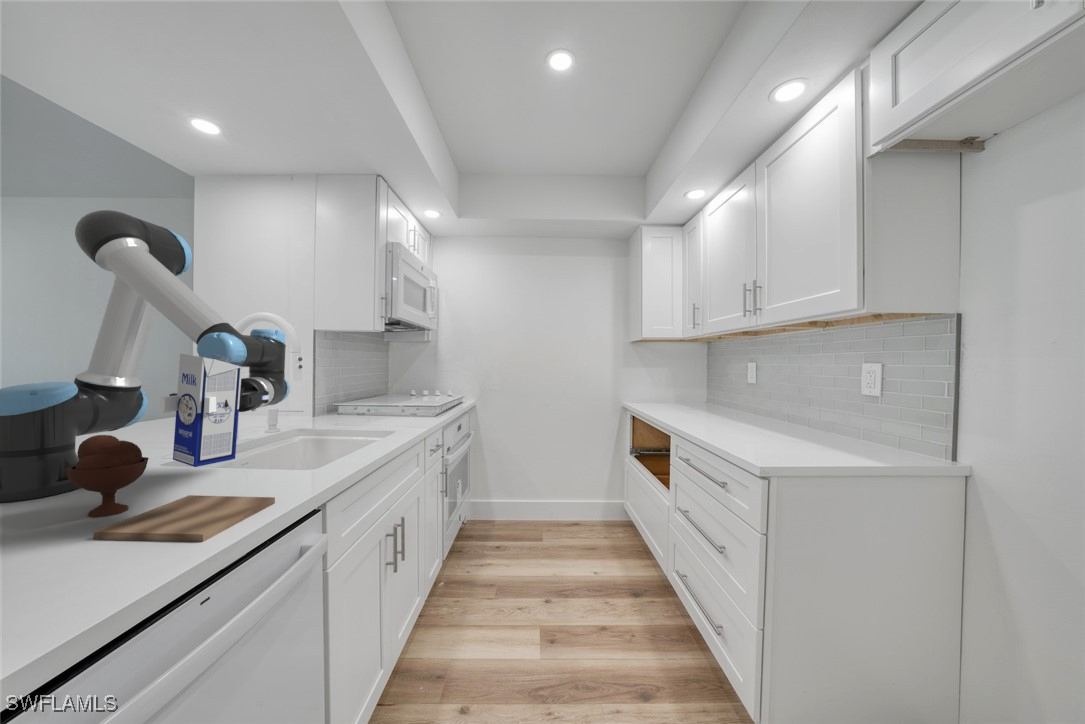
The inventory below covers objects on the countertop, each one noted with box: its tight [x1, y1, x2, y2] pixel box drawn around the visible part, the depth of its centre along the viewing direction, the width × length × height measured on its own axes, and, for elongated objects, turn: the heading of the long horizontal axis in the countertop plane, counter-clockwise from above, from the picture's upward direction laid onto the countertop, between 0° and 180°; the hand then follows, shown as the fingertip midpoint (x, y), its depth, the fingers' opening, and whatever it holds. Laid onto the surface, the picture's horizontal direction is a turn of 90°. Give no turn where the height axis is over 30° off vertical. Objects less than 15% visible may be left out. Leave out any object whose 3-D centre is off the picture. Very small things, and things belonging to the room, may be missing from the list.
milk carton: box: [172, 353, 243, 468], centre depth 76 cm, size 7×7×20 cm
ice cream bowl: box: [66, 434, 149, 519], centre depth 77 cm, size 11×11×15 cm
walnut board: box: [92, 494, 276, 543], centre depth 75 cm, size 18×18×1 cm
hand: (184, 405), depth 71 cm, fingers closed on milk carton, 6 cm apart
